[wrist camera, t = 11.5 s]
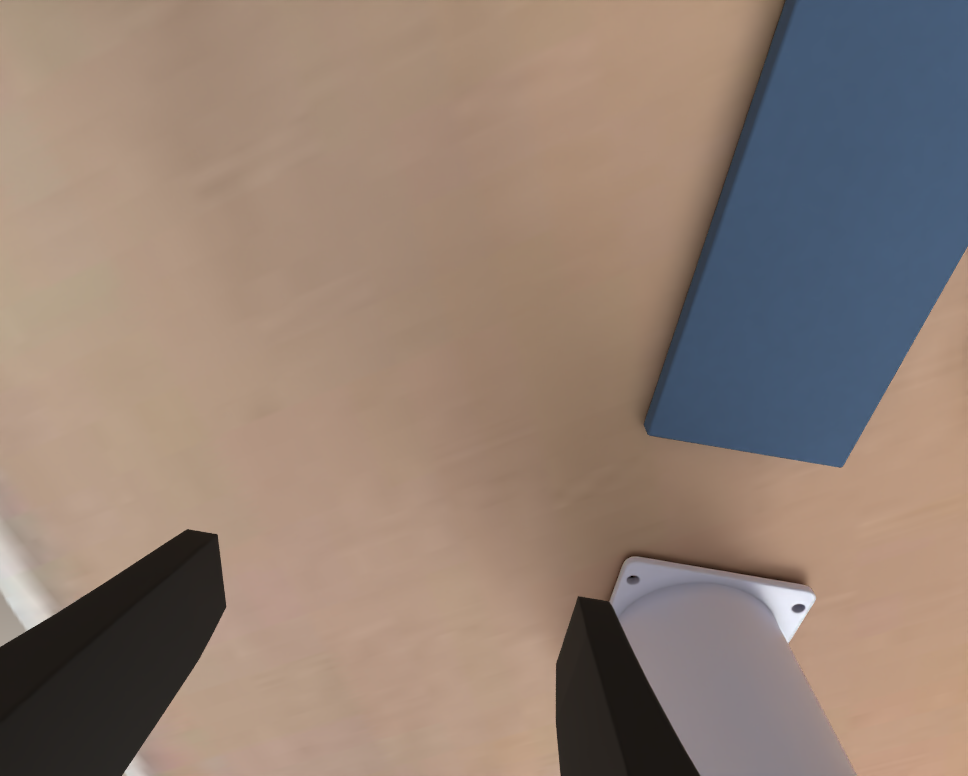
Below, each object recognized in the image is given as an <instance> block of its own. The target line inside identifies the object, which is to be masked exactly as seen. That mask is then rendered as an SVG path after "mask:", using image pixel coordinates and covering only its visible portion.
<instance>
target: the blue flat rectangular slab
mask: <svg viewBox="0 0 968 776" xmlns="http://www.w3.org/2000/svg"><path fill="white" fill-rule="evenodd" d="M967 246H968V0H786V1H785V4H784V7H783V10H782V13H781V16H780V19H779V22H778V25H777V28H776V31H775V34H774V37H773V40H772V43H771V46H770V49H769V52H768V55H767V58H766V61H765V64H764V67H763V70H762V73H761V76H760V79H759V82H758V85H757V88H756V91H755V93H754V96H753V99H752V102H751V105H750V108H749V111H748V114H747V117H746V120H745V123H744V126H743V129H742V132H741V135H740V138H739V141H738V144H737V147H736V150H735V153H734V156H733V159H732V162H731V165H730V168H729V171H728V174H727V177H726V180H725V183H724V186H723V189H722V192H721V195H720V198H719V201H718V204H717V207H716V210H715V213H714V216H713V219H712V222H711V225H710V228H709V231H708V234H707V237H706V240H705V243H704V246H703V249H702V252H701V255H700V258H699V261H698V264H697V267H696V270H695V273H694V276H693V279H692V282H691V285H690V288H689V291H688V294H687V297H686V300H685V303H684V306H683V309H682V312H681V315H680V318H679V320H678V323H677V326H676V329H675V332H674V335H673V338H672V341H671V344H670V347H669V350H668V353H667V356H666V359H665V362H664V365H663V368H662V371H661V374H660V377H659V380H658V383H657V386H656V389H655V392H654V395H653V398H652V401H651V404H650V407H649V410H648V413H647V416H646V419H645V422H644V427H645V429H646V432H647V434H648V435H650V436H655V437H661V438H667V439H673V440H679V441H685V442H691V443H697V444H703V445H709V446H715V447H721V448H727V449H733V450H739V451H745V452H751V453H757V454H762V455H768V456H774V457H780V458H786V459H792V460H798V461H804V462H810V463H816V464H822V465H828V466H834V467H843V465H844V464H845V462H846V460H847V458H848V456H849V455H850V453H851V451H852V449H853V448H854V446H855V444H856V442H857V441H858V439H859V437H860V435H861V434H862V432H863V430H864V428H865V426H866V425H867V423H868V421H869V419H870V418H871V416H872V414H873V412H874V411H875V409H876V407H877V405H878V404H879V402H880V400H881V398H882V396H883V395H884V393H885V391H886V389H887V388H888V386H889V384H890V382H891V381H892V379H893V377H894V375H895V374H896V372H897V370H898V368H899V366H900V365H901V363H902V361H903V359H904V358H905V356H906V354H907V352H908V351H909V349H910V347H911V345H912V343H913V342H914V340H915V338H916V336H917V335H918V333H919V331H920V329H921V328H922V326H923V324H924V322H925V321H926V319H927V317H928V315H929V313H930V312H931V310H932V308H933V306H934V305H935V303H936V301H937V299H938V298H939V296H940V294H941V292H942V291H943V289H944V287H945V285H946V283H947V282H948V280H949V278H950V276H951V275H952V273H953V271H954V269H955V268H956V266H957V264H958V262H959V261H960V259H961V257H962V255H963V253H964V252H965V250H966V248H967Z"/></svg>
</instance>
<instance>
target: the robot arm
mask: <svg viewBox="0 0 968 776" xmlns="http://www.w3.org/2000/svg"><path fill="white" fill-rule="evenodd" d="M630 576H635V577H630ZM815 599H816V596H815V594H814V592H813V590H812V589H811V588H810V587H809V586H806V585H803V584H797V583H791V582H785V581H779V580H773V579H767V578H762V577H756V576H750V575H744V574H738V573H732V572H726V571H721V570H715V569H709V568H703V567H697V566H691V565H685V564H680V563H674V562H668V561H662V560H656V559H650V558H644V557H638V556H633V557H629V558H628V559H626V560H625V561H624V563H623V565H622V568H621V571H620V574H619V576H618V579H617V582H616V585H615V587H614V590H613V593H612V595H611V598H610V601H609V602H608V601H602V600H597V599H591V598H585V597H579V596H578V598H577V601H576V605H575V608H574V611H573V614H572V617H571V620H570V623H569V626H568V629H567V632H566V635H565V638H564V642H563V645H562V648H561V651H560V654H559V657H558V660H557V663H556V728H557V740H558V751H559V762H560V773H561V776H857V774H856V772H855V770H854V768H853V766H852V764H851V762H850V760H849V759H848V757H847V755H846V753H845V751H844V749H843V747H842V745H841V743H840V741H839V740H838V738H837V736H836V734H835V732H834V730H833V728H832V726H831V724H830V722H829V721H828V719H827V717H826V715H825V713H824V711H823V709H822V707H821V705H820V703H819V701H818V700H817V698H816V696H815V694H814V692H813V690H812V688H811V686H810V684H809V682H808V681H807V679H806V677H805V675H804V673H803V671H802V669H801V667H800V665H799V663H798V662H797V660H796V658H795V656H794V654H793V652H792V650H791V648H790V646H789V644H788V643H789V642H790V640H791V638H792V637H793V635H794V634H795V632H796V630H797V629H798V627H799V626H800V624H801V622H802V621H803V619H804V618H805V616H806V614H807V613H808V611H809V610H810V608H811V607H812V605H813V603H814V602H815ZM225 608H226V600H225V592H224V584H223V576H222V567H221V559H220V551H219V543H218V535H217V534H212V533H206V532H200V531H194V530H189V529H187V530H185V531H184V532H182V533H181V534H179V535H178V536H176V537H174V538H173V539H171V540H170V541H168V542H167V543H165V544H164V545H162V546H161V547H159V548H157V549H156V550H154V551H153V552H151V553H150V554H148V555H147V556H145V557H144V558H142V559H141V560H139V561H138V562H136V563H135V564H133V565H131V566H130V567H128V568H127V569H125V570H124V571H122V572H121V573H119V574H118V575H116V576H115V577H113V578H112V579H110V580H108V581H107V582H105V583H104V584H102V585H101V586H99V587H98V588H96V589H94V590H93V591H91V592H90V593H88V594H87V595H85V596H83V597H82V598H80V599H79V600H77V601H75V602H74V603H72V604H71V605H69V606H68V607H66V608H64V609H63V610H61V611H60V612H58V613H57V614H55V615H53V616H52V617H50V618H48V619H47V620H45V621H43V622H41V623H40V624H38V625H36V626H35V627H33V628H31V629H30V630H28V631H26V632H25V633H23V634H21V635H20V636H18V637H16V638H15V639H13V640H11V641H10V642H8V643H6V644H5V645H3V646H1V647H0V776H122V775H123V773H124V772H125V770H126V769H127V767H128V766H129V764H130V763H131V761H132V760H133V758H134V757H135V755H136V754H137V752H138V751H139V749H140V748H141V746H142V745H143V743H144V742H145V740H146V739H147V737H148V736H149V734H150V733H151V731H152V730H153V728H154V727H155V725H156V724H157V722H158V721H159V719H160V718H161V716H162V715H163V713H164V712H165V710H166V709H167V707H168V706H169V704H170V703H171V701H172V700H173V698H174V697H175V695H176V694H177V692H178V691H179V689H180V688H181V686H182V685H183V683H184V682H185V680H186V679H187V677H188V676H189V674H190V673H191V671H192V669H193V668H194V666H195V665H196V663H197V662H198V660H199V658H200V657H201V655H202V653H203V651H204V649H205V647H206V645H207V644H208V642H209V640H210V638H211V636H212V634H213V632H214V630H215V628H216V626H217V624H218V622H219V620H220V618H221V616H222V614H223V612H224V610H225Z"/></svg>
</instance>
